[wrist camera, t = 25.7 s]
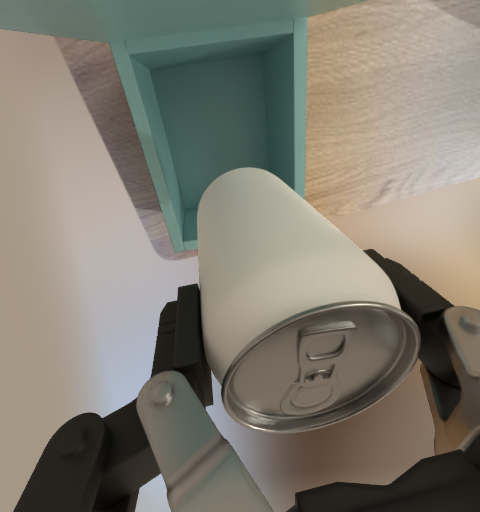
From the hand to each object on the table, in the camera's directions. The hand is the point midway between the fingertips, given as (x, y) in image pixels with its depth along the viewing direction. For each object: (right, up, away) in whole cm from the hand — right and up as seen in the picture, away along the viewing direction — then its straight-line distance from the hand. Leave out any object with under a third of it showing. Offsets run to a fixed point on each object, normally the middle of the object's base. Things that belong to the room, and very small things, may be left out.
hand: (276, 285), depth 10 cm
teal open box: (-4, +15, +18) cm, 24 cm away
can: (-1, +4, +7) cm, 8 cm away
